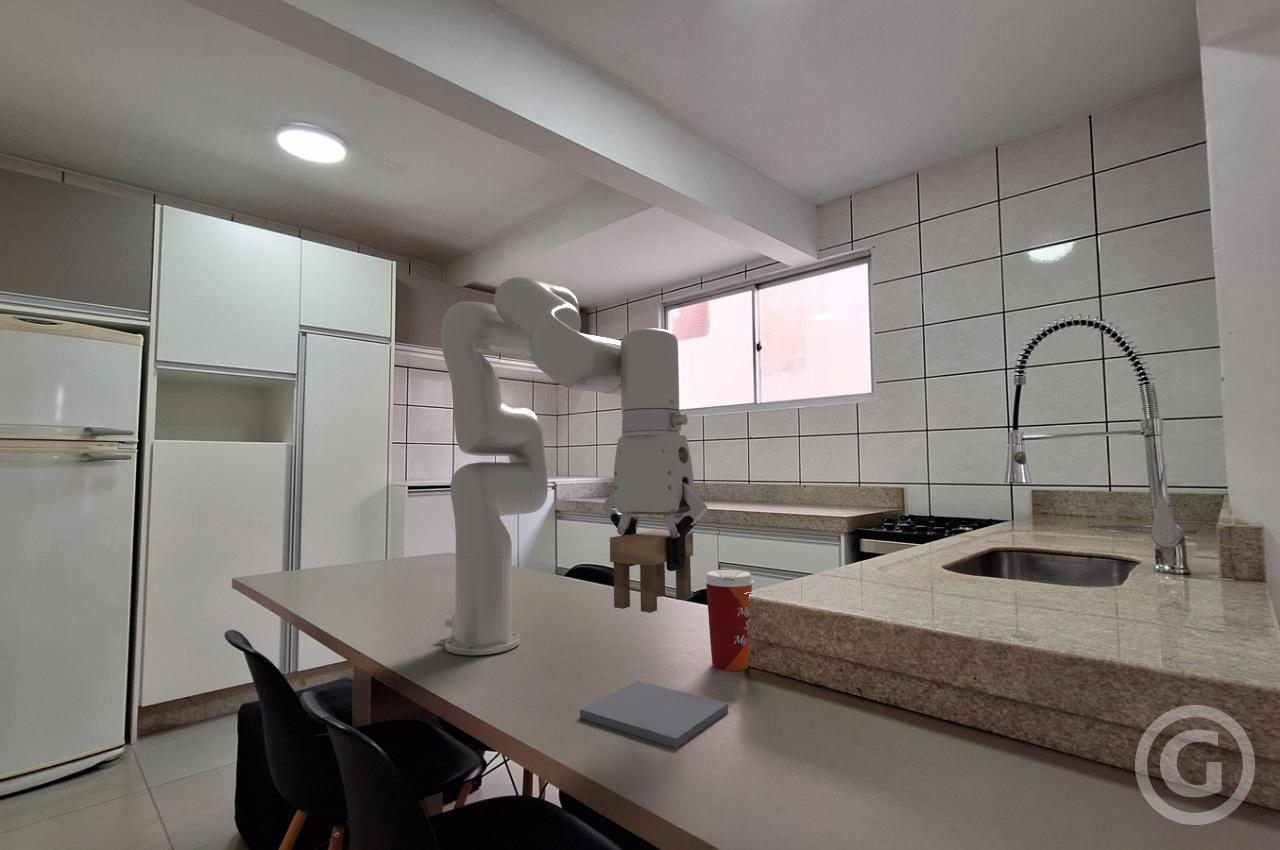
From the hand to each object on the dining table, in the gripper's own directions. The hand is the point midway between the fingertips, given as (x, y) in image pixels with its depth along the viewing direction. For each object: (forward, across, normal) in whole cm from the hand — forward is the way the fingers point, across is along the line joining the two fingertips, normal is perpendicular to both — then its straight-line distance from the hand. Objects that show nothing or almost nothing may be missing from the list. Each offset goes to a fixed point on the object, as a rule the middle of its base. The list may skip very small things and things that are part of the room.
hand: (653, 566), depth 76 cm
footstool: (+5, 0, 0) cm, 5 cm away
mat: (+18, 0, 0) cm, 18 cm away
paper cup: (+18, +1, -22) cm, 28 cm away
